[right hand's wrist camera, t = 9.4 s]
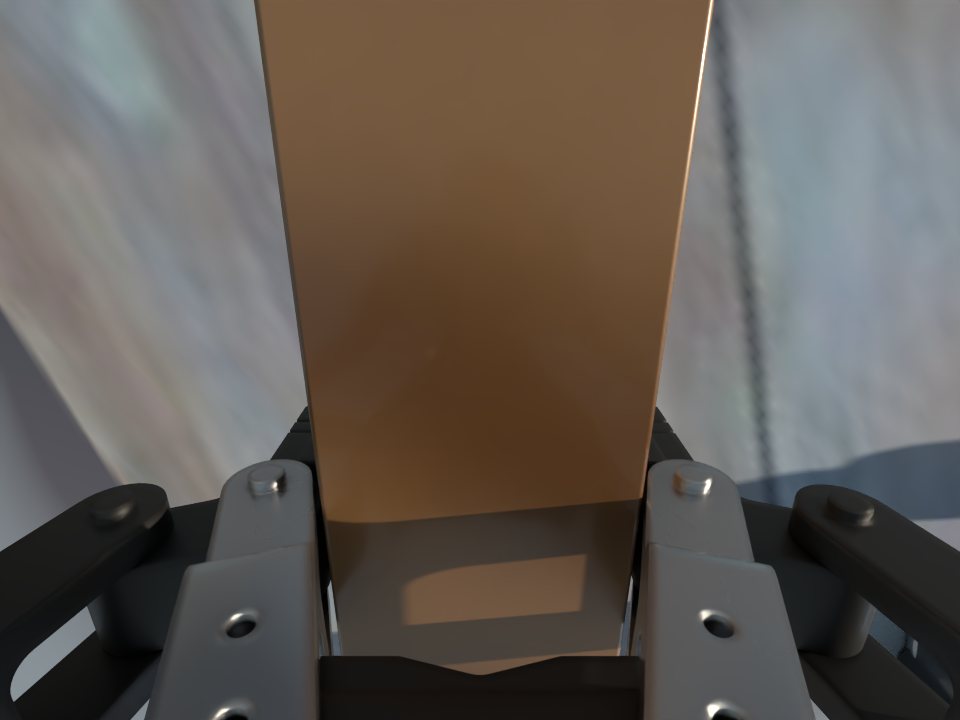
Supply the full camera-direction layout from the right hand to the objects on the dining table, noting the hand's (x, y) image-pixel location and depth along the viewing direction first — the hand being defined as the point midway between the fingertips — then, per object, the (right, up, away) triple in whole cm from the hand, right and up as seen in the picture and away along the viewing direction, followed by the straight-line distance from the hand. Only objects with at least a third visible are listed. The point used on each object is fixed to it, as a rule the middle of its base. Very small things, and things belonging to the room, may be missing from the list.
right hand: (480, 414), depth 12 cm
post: (0, +24, -6) cm, 25 cm away
